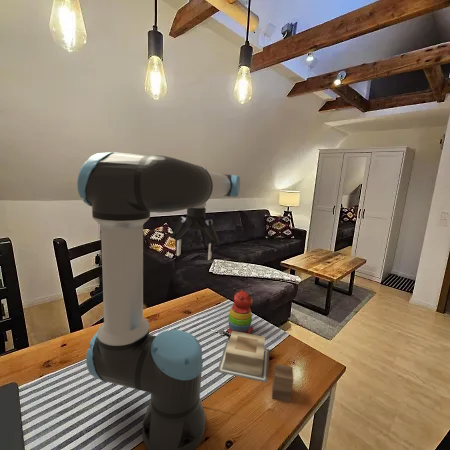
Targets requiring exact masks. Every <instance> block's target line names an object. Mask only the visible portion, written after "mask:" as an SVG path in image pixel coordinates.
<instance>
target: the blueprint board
mask: <svg viewBox="0 0 450 450" xmlns="http://www.w3.org/2000/svg"><path fill="white" fill-rule="evenodd" d="M228 343H229V340H228V341H227V340H226V342H225V345H224V348H223V352H222V355H221V358H220V360H219V363H218V367H217V370H216V372H217V373H221V374H226V375H229V376H233V377H240V378H245V379H247V380H253V381H257V382H262V383H268V379H269V361H270V349H268V348H265V347H264V358H263V367H262V376H257V375H252V374H248V373H243V372H238V371H234V370H229V369H224V366H225V354H226V349H227V346H228Z"/></svg>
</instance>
